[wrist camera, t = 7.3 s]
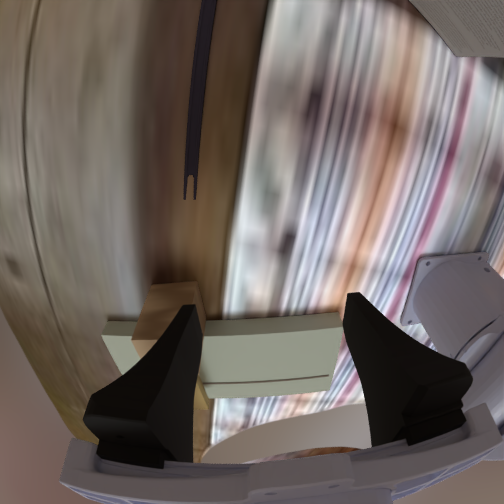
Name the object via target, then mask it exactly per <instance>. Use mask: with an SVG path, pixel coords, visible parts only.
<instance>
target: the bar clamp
mask: <svg viewBox="0 0 504 504" xmlns="http://www.w3.org/2000/svg"><path fill="white" fill-rule="evenodd" d="M216 2H217V0H202V3H201V10H200V16H199V23H198V30H197V37H196V44H195V52H194V60H193V69H192V78H191V88H190V99H189V110H188V123H187V137H186V153H185V172H184V200H186V189H187V178H188V176H189V175H193V177H194V200H196V190H197V174H198V160H199V147H200V135H201V124H202V113H203V103H204V93H205V84H206V75H207V66H208V58H209V50H210V43H211V36H212V28H213V22H214V15H215V9H216Z"/></svg>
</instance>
